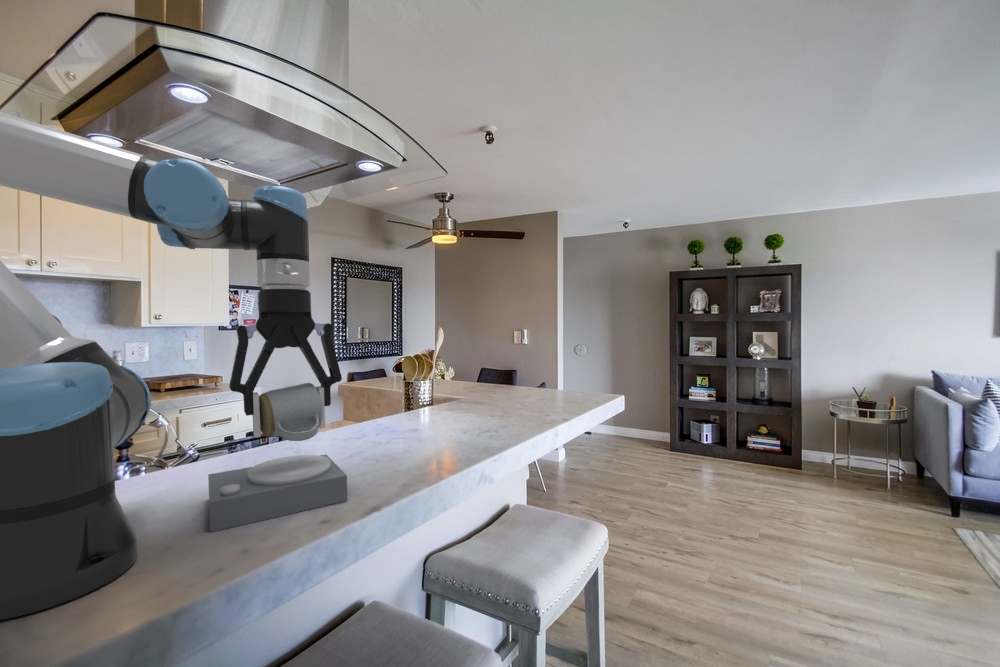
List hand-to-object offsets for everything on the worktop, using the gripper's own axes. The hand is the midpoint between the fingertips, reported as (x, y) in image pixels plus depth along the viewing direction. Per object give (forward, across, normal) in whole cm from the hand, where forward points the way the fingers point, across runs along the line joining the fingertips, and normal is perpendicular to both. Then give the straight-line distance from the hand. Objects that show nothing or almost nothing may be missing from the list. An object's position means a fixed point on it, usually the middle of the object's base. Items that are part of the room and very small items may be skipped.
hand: (290, 430), depth 72 cm
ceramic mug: (+1, +1, -1) cm, 1 cm away
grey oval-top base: (+11, -2, 0) cm, 11 cm away
